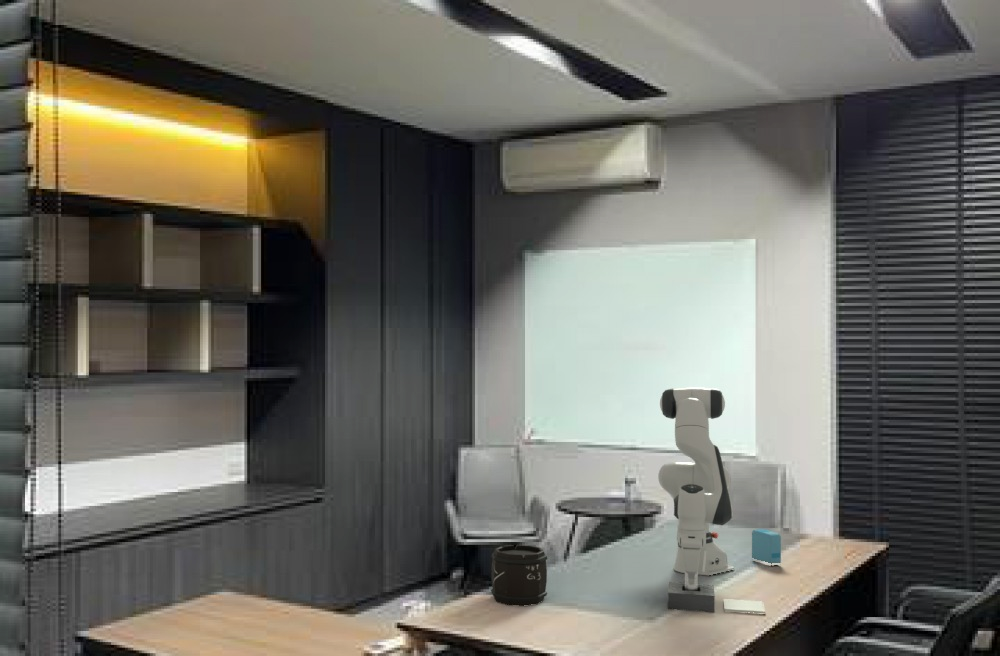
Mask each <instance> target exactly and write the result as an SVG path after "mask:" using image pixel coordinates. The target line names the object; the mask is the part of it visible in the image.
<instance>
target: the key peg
mask: <svg viewBox="0 0 1000 656" xmlns="http://www.w3.org/2000/svg"><path fill="white" fill-rule="evenodd" d="M684 583H685V590H686V591H698V584H699V574H698V572H697V574H695V577H694V584H689V583H688V573H686V572H685V573H684Z"/></svg>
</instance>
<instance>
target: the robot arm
mask: <svg viewBox="0 0 1000 656" xmlns="http://www.w3.org/2000/svg"><path fill="white" fill-rule="evenodd" d="M659 407H660V410H661V414H662V415H663V416H664V417H665V418H668V419H670V420H674V419H675V422H674V438H675V439H674V441H675V445H676V447H677V449H678V450H679V452H681V453H682V454H683V455H685V456H686V457H689V458H690V459H691V460H693V461H694V462H686V461H685V462H684V461H682V462H681V461H675V462H668V463H664V464H663V465H662V466H661V467H660V469H659V472H658V478H657V479H658V482H659V485H660V487H661V488H662V489H663V490H664V491H665V492H667V493H668V494H669V495H670V496H671V498H672V499H673V509H674V510H673V516H674V517H675V518H676V519H677V522H678V523H677V532H676V542H677V548H676V550H677V551H676V554H675V555H676V556H675V562H674V566H673V568H672V569H673V570H674V571H675V572H678V573H681V574H682V573H683V574H685V572H686V573H688V583H689V584H694V577H695V574H697V572H698V575H702V576H709V575H711V576H714V575H713V574H716V575H718V574H717V573H720V574H722V573H721V572H724V573H726V572H725V571H728V570H732V569H734V570H735V567H734V566H733V565H731V564H729V562H728V555H727V554H726V551H725V550H724V549H722V548H721V547H719V545H717V543H715V542H714V539H718V538H719V534H718V532H711V531H710V524H712V525H719V526H724V525H726V524H727V523H729V521H731V519H732V518H733V513H734V509H733V503H732V500H731V498H730V495H729V488H730V484H731V473H730V471H729V470H728V469H727V467H726V466H724V464H723V461H722V460H723V459H722V457H721V456H722V455H721V452H720V449H719V447H718V446H717V445H715V444H714V443H713V442H712V440H711V439H710V425H709V424H710V422H709V419H712V420H714V419H718V418H720V417H721V416H722V415H723V413H724V410H725V407H726V401H725V397H724V395H723V392H722V391H721V390H720V389H718V388H712V387H710V388H705V387H686V388H685V387H684V388H668V389H665V390H664V391H663V392H662V394H661V395H660V402H659Z"/></svg>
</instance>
